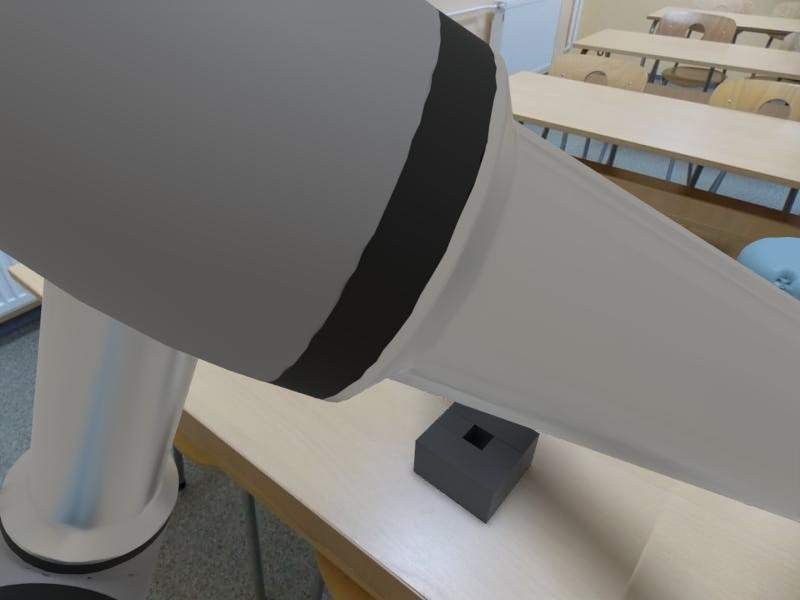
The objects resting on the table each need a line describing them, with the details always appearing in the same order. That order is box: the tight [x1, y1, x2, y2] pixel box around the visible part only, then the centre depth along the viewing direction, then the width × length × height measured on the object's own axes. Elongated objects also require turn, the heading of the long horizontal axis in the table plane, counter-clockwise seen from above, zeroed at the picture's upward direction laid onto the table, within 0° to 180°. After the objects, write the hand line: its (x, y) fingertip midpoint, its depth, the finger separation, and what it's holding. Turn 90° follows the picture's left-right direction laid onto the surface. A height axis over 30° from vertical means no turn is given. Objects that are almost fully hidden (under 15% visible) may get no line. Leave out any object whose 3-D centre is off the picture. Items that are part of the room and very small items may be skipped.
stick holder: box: [413, 401, 541, 524], centre depth 64 cm, size 11×11×6 cm
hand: (451, 246), depth 63 cm, fingers closed on stirring stick, 2 cm apart
